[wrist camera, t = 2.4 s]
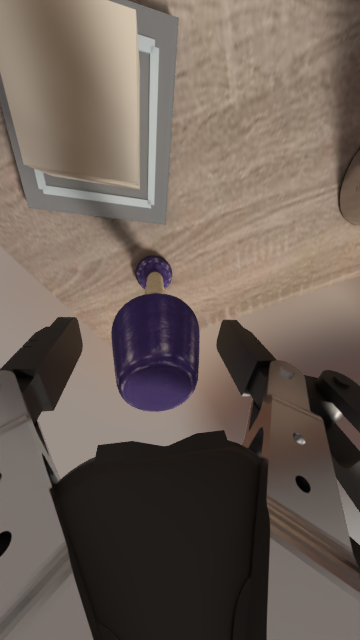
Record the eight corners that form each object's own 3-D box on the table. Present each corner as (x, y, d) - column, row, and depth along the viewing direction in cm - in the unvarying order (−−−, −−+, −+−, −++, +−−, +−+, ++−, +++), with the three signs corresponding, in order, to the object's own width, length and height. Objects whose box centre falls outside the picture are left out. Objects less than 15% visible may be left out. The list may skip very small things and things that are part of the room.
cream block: (139, 67, 12) (135, 9, 9) (140, 189, 16) (137, 182, 12) (25, 34, 11) (-31, -47, 8) (53, 176, 14) (23, 164, 11)
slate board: (176, 31, 12) (178, 16, 11) (165, 224, 18) (165, 224, 17) (-28, -36, 10) (-46, -62, 9) (35, 208, 16) (27, 207, 15)
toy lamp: (124, 271, 20) (62, 403, 6) (151, 240, 19) (156, 313, 5) (155, 297, 22) (164, 439, 8) (181, 271, 21) (247, 385, 7)
